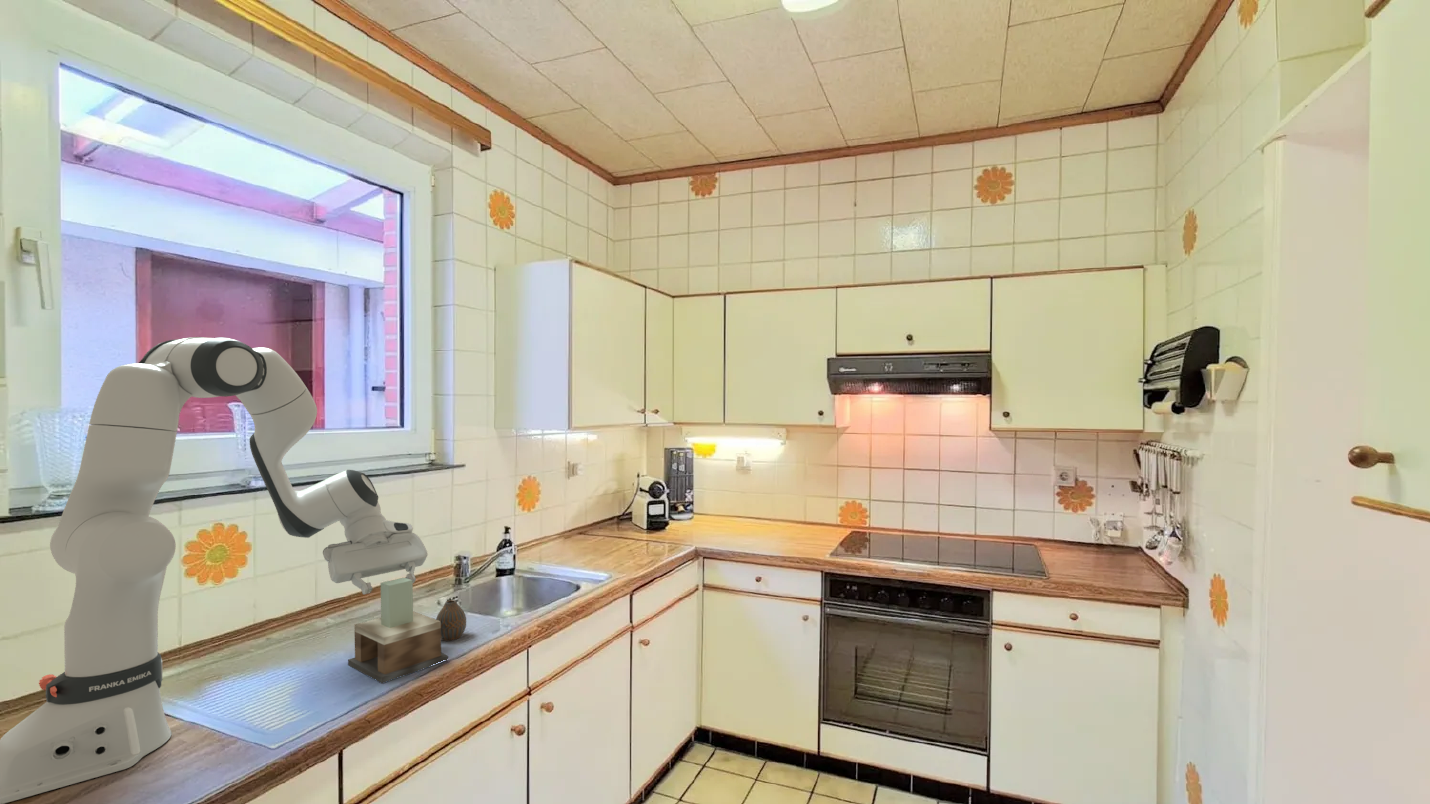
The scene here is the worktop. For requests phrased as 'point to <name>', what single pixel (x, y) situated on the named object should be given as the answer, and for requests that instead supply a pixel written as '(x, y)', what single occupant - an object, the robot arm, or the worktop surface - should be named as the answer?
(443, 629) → the vase
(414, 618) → the bridge
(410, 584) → the block
